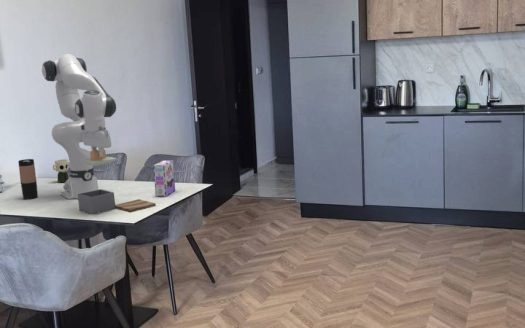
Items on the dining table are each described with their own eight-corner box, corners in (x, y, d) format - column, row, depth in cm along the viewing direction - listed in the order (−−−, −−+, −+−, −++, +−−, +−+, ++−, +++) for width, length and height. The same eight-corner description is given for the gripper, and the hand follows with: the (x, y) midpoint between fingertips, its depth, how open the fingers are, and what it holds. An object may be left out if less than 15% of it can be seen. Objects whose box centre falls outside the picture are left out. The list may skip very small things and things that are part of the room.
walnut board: (114, 207, 270) (113, 205, 270) (139, 201, 280) (139, 199, 279) (130, 212, 260) (129, 209, 260) (155, 205, 270) (155, 203, 270)
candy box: (166, 197, 287) (163, 164, 284) (155, 196, 288) (152, 164, 285) (175, 190, 300) (173, 159, 297) (165, 190, 301) (162, 160, 298)
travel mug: (25, 196, 301) (20, 159, 298) (40, 195, 302) (35, 158, 298) (20, 200, 294) (15, 162, 290) (35, 199, 295) (31, 161, 291)
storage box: (79, 210, 267) (77, 194, 266) (102, 205, 276) (100, 189, 274) (92, 214, 259) (90, 197, 257) (115, 209, 267) (113, 192, 266)
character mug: (57, 184, 329) (55, 162, 327) (51, 183, 334) (49, 161, 332) (75, 181, 337) (72, 159, 335) (69, 179, 342) (66, 158, 339)
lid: (80, 164, 264) (79, 151, 263) (104, 160, 272) (102, 147, 271) (93, 166, 255) (92, 153, 254) (117, 162, 263) (116, 149, 262)
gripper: (113, 126, 255) (116, 157, 258) (91, 124, 270) (93, 153, 272) (100, 128, 251) (103, 159, 253) (78, 126, 265) (81, 155, 268)
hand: (98, 156), depth 263 cm, fingers closed on lid, 3 cm apart
